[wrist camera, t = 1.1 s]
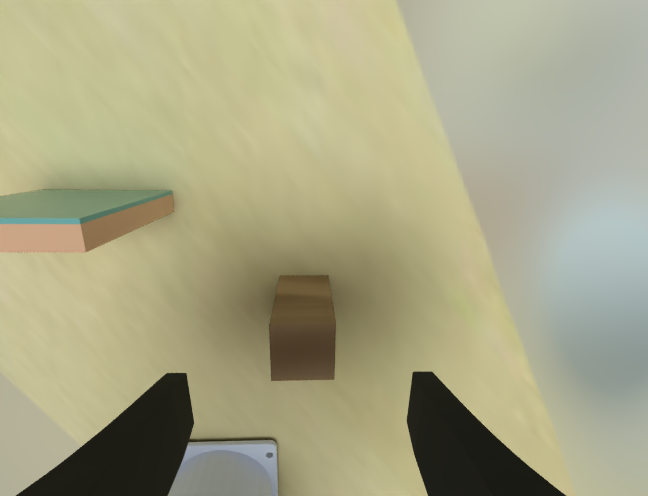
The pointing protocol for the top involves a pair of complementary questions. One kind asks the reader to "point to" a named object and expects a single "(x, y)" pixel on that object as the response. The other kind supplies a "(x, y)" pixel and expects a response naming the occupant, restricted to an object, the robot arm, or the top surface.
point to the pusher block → (302, 330)
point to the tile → (76, 217)
